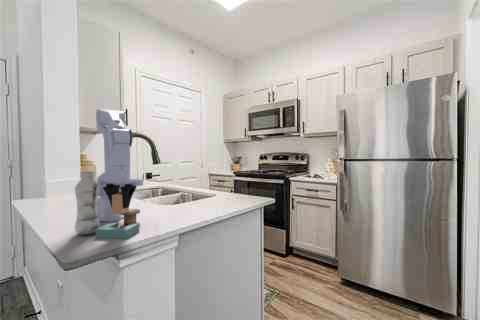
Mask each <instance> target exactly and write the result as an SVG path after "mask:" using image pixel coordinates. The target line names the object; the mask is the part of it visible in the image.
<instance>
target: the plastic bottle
mask: <svg viewBox="0 0 480 320" xmlns="http://www.w3.org/2000/svg"><path fill="white" fill-rule="evenodd" d="M79 178H80V180H79V181H78V182H77V184H76V185H75V187H74V193H75V200H76V221H75V224H74V230H75V232H76V235H80V236H81V235H82V236H85V235H92V234H94V233H95V234H96V229H97V228H100V224H101V223H100V221H99V218H98V211H97V201H98V197H99V196H98V193H99V186H98V184H97V180H95V179H94V178H95V171H80V176H79Z"/></svg>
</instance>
